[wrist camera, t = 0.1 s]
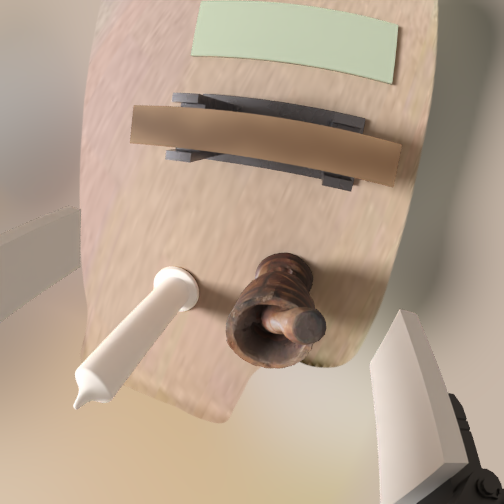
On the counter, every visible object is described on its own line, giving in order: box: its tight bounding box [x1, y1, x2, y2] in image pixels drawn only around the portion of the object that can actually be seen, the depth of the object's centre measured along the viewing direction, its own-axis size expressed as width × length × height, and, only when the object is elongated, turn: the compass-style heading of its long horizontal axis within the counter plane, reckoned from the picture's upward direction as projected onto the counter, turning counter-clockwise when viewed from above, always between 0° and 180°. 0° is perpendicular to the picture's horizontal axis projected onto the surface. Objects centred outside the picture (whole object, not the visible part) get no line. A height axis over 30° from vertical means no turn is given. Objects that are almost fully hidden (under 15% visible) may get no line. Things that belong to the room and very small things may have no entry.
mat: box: [191, 0, 398, 84], centre depth 30 cm, size 8×24×1 cm, turn 82°
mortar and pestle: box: [226, 253, 326, 368], centre depth 32 cm, size 12×9×20 cm
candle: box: [73, 266, 199, 409], centre depth 34 cm, size 7×7×25 cm
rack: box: [165, 93, 365, 191], centre depth 30 cm, size 8×19×12 cm, turn 82°
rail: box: [130, 105, 402, 187], centre depth 25 cm, size 3×22×3 cm, turn 82°
